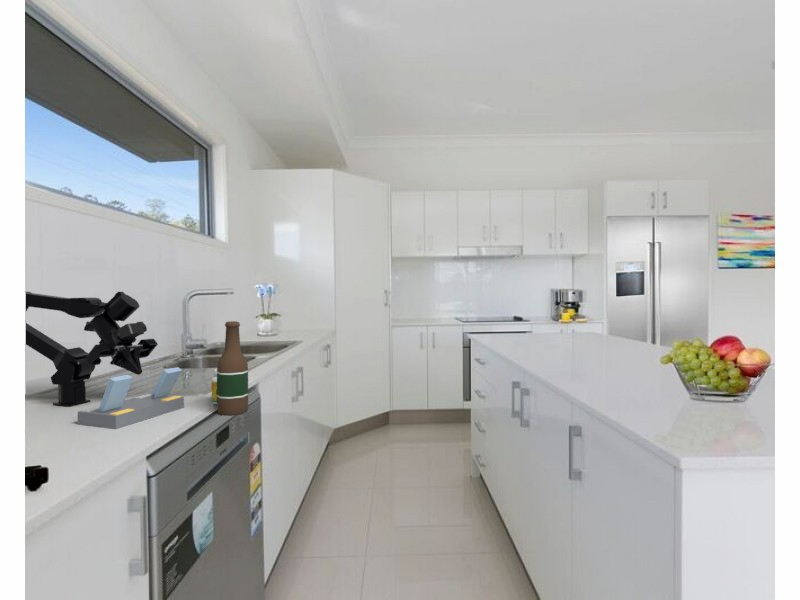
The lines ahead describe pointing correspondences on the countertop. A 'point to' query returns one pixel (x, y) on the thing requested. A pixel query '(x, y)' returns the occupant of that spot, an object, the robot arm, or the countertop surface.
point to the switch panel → (130, 411)
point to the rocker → (166, 382)
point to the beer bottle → (232, 375)
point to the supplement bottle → (214, 388)
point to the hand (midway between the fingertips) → (140, 373)
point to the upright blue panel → (115, 392)
